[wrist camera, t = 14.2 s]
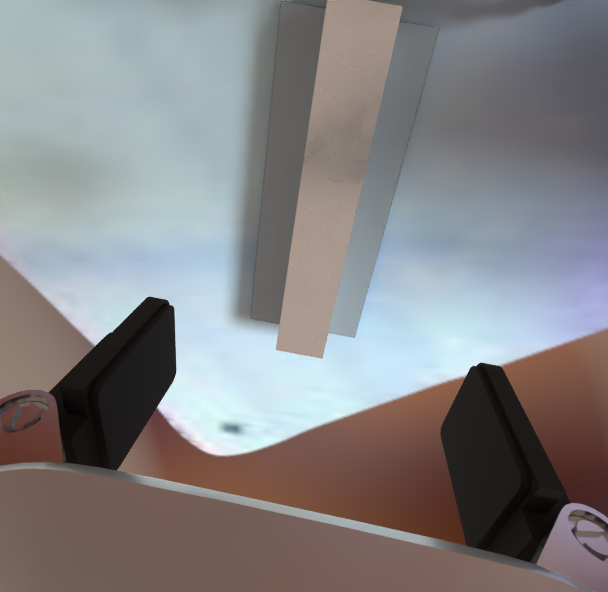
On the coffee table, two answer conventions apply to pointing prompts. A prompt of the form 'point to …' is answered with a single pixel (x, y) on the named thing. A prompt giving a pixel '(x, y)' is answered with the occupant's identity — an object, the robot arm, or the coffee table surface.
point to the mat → (291, 149)
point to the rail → (334, 164)
